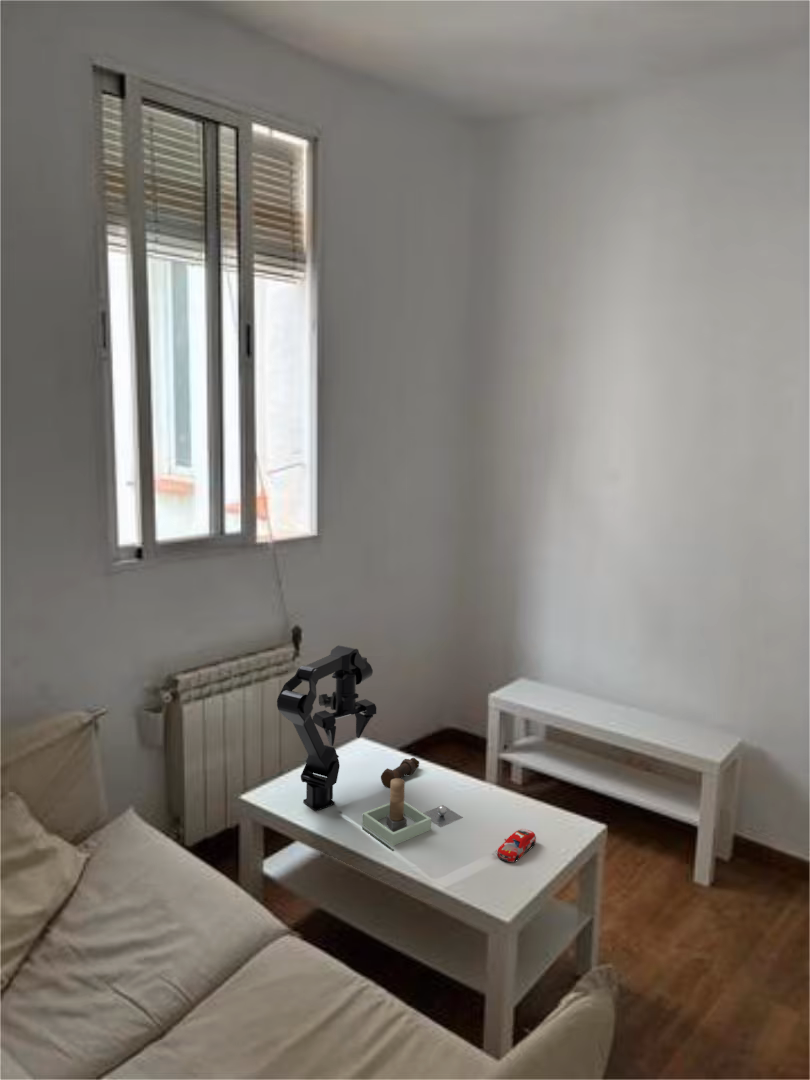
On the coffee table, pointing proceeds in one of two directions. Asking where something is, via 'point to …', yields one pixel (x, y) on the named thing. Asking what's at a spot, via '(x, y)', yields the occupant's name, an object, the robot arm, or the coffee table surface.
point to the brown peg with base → (396, 806)
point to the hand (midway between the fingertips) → (344, 741)
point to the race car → (516, 845)
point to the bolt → (399, 771)
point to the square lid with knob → (442, 816)
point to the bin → (400, 835)
